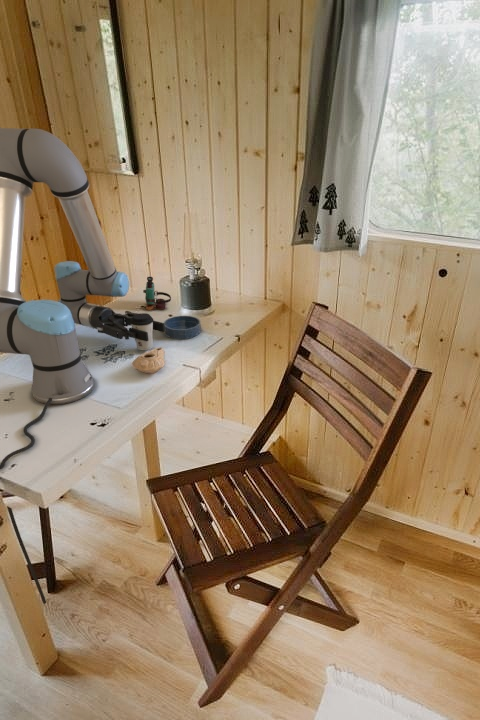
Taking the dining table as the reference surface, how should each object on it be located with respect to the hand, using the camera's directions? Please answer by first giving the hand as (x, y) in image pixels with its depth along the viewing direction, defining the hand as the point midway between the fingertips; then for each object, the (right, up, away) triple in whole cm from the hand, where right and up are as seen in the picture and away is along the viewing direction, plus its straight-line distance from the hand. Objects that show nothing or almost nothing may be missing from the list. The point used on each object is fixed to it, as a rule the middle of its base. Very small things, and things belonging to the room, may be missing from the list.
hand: (155, 332), depth 140 cm
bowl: (+5, +2, +17) cm, 18 cm away
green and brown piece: (-8, +15, +37) cm, 41 cm away
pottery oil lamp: (+1, -11, -4) cm, 12 cm away
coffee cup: (-4, -4, +5) cm, 8 cm away
